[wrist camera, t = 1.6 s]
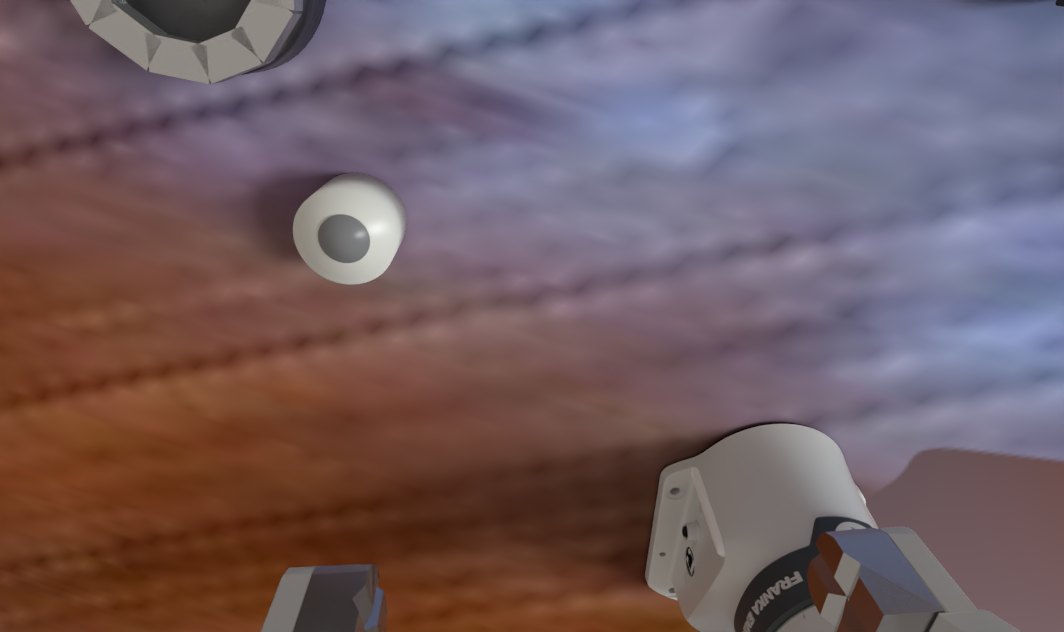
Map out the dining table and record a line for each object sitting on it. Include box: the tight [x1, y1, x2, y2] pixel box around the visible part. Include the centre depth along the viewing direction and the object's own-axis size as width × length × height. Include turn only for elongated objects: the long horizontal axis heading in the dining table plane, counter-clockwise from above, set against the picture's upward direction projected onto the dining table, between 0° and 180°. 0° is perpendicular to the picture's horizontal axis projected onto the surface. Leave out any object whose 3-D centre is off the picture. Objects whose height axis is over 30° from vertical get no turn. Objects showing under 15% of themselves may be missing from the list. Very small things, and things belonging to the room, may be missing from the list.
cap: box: [293, 173, 407, 284], centre depth 34 cm, size 6×6×4 cm
